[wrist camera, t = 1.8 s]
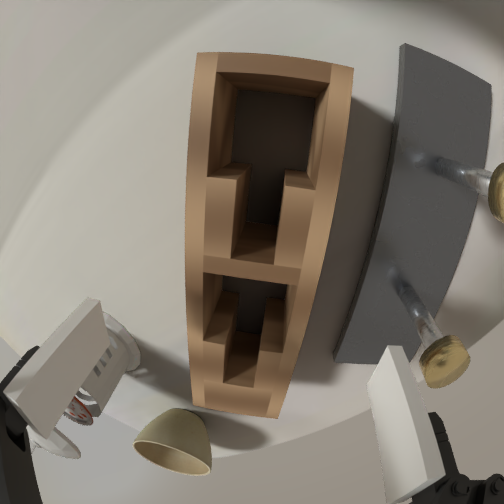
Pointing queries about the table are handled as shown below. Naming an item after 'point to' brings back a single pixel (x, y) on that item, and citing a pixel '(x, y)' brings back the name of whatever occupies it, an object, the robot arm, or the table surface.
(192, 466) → the flower pot
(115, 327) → the french press
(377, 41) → the table surface
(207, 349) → the wooden compartment box
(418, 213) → the rail
